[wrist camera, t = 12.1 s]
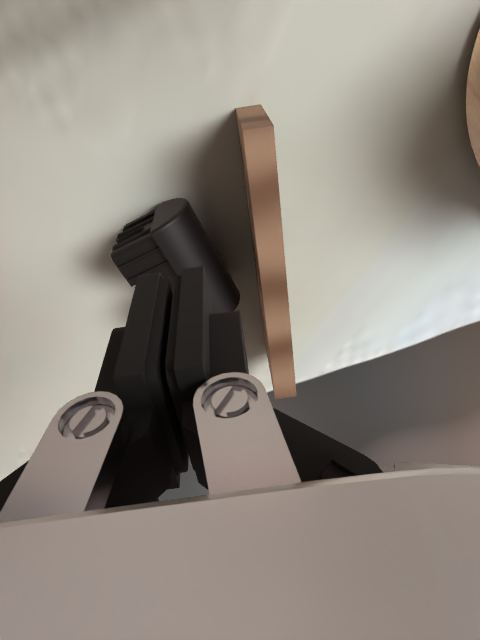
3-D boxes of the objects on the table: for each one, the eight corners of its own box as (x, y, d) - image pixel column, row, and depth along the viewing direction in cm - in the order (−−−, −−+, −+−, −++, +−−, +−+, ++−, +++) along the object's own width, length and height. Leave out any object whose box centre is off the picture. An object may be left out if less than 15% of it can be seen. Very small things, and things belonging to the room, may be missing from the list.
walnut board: (235, 108, 36) (242, 130, 29) (260, 104, 36) (273, 125, 29) (265, 347, 49) (275, 399, 43) (284, 344, 49) (296, 396, 43)
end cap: (238, 277, 45) (243, 315, 39) (175, 305, 46) (171, 346, 40) (188, 186, 39) (185, 214, 34) (118, 221, 41) (104, 255, 35)
